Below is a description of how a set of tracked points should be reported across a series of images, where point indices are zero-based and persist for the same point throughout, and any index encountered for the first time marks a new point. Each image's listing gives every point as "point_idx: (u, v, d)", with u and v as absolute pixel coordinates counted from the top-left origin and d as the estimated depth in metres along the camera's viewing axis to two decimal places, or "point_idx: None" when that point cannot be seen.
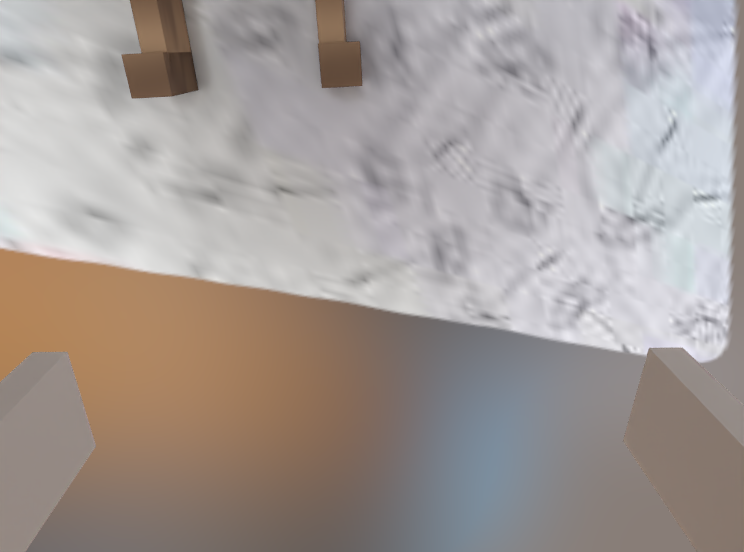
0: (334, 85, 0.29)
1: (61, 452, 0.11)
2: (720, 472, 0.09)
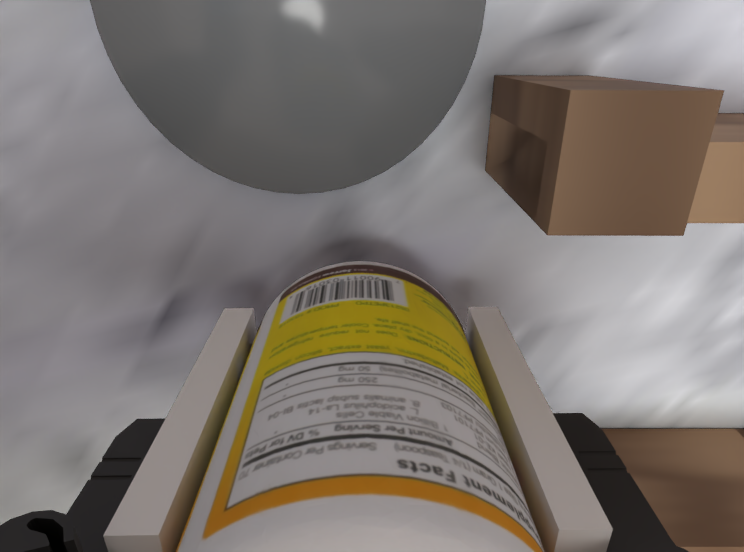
0: None
1: None
2: (490, 402, 0.11)
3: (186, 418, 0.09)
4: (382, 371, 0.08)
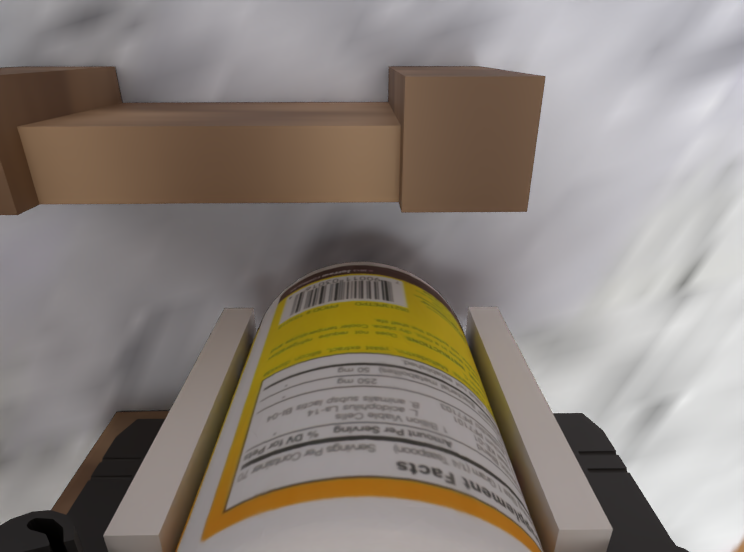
0: (526, 171, 0.09)
1: None
2: (490, 402, 0.11)
3: (186, 418, 0.09)
4: (382, 372, 0.08)
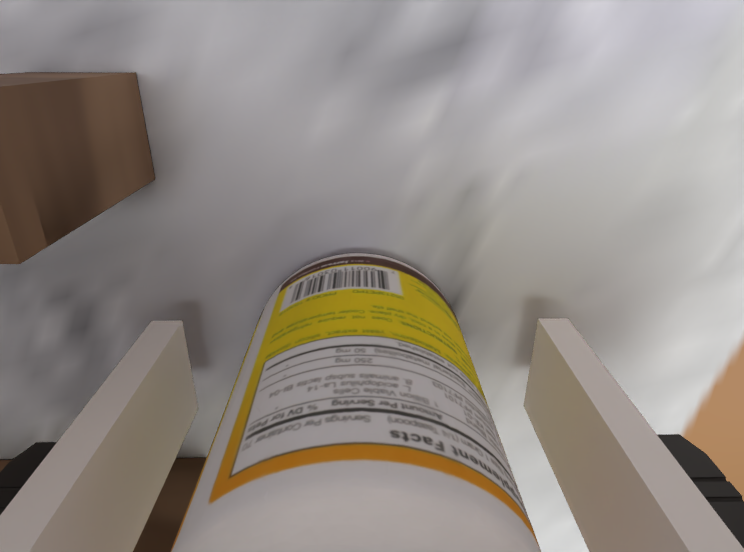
0: None
1: (179, 409, 0.12)
2: (576, 421, 0.10)
3: (77, 444, 0.08)
4: (377, 353, 0.08)
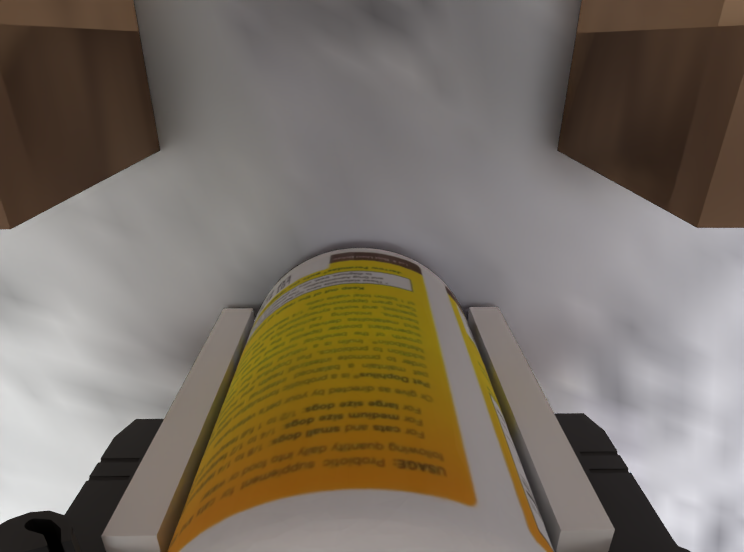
0: None
1: None
2: None
3: (185, 418, 0.09)
4: None
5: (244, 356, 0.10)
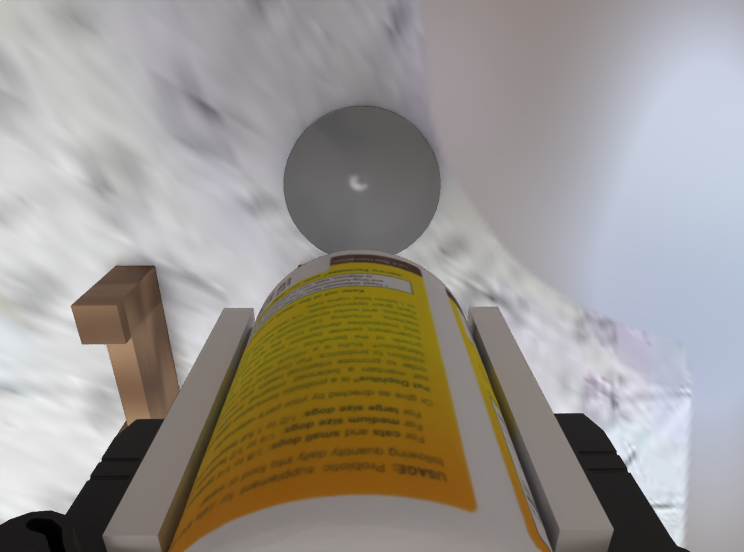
0: None
1: None
2: None
3: (185, 418, 0.09)
4: None
5: (244, 359, 0.10)
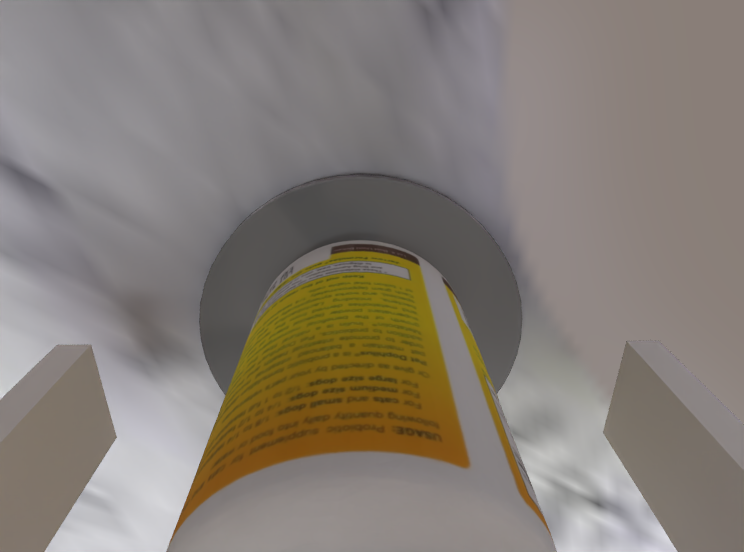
0: None
1: (85, 442, 0.11)
2: (690, 459, 0.09)
3: None
4: None
5: (249, 342, 0.10)
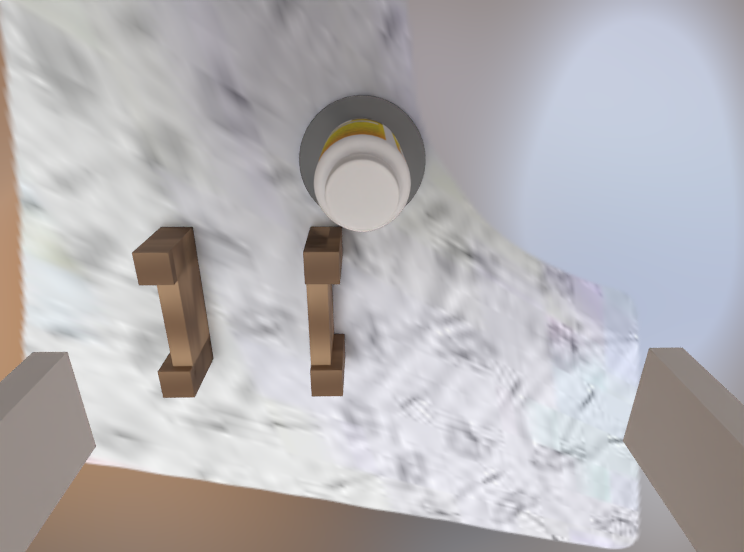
0: (321, 395, 0.38)
1: (61, 452, 0.11)
2: (720, 472, 0.09)
3: None
4: None
5: (326, 142, 0.31)
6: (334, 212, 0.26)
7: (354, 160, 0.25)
